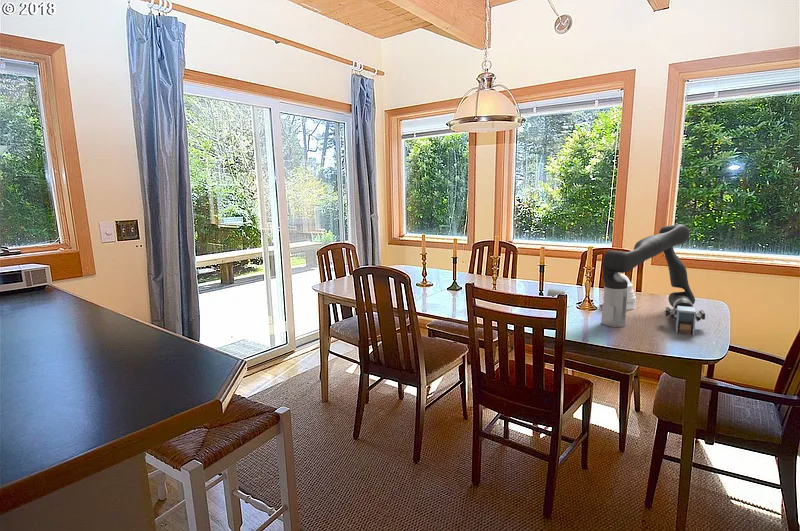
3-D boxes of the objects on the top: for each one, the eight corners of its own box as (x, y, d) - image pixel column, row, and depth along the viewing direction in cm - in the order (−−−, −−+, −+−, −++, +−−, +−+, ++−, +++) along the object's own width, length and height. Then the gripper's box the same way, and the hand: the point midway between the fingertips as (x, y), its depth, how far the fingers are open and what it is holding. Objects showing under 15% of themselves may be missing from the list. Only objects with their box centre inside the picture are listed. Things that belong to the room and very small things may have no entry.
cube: (690, 334, 176) (691, 325, 175) (679, 333, 178) (679, 323, 177) (690, 331, 179) (690, 322, 178) (678, 330, 181) (679, 321, 180)
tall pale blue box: (694, 335, 174) (696, 311, 172) (676, 333, 177) (677, 310, 176) (692, 330, 180) (694, 307, 178) (675, 328, 183) (677, 305, 182)
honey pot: (603, 306, 219) (604, 272, 216) (613, 301, 228) (615, 268, 224) (629, 311, 210) (631, 275, 206) (639, 305, 218) (641, 271, 215)
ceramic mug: (562, 305, 224) (562, 291, 223) (546, 303, 229) (546, 289, 228) (567, 301, 233) (567, 287, 232) (551, 299, 238) (552, 286, 236)
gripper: (665, 298, 194) (666, 307, 181) (703, 301, 187) (707, 311, 173) (664, 314, 196) (665, 324, 182) (702, 317, 188) (705, 328, 175)
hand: (685, 317), depth 178 cm, fingers open, 8 cm apart
